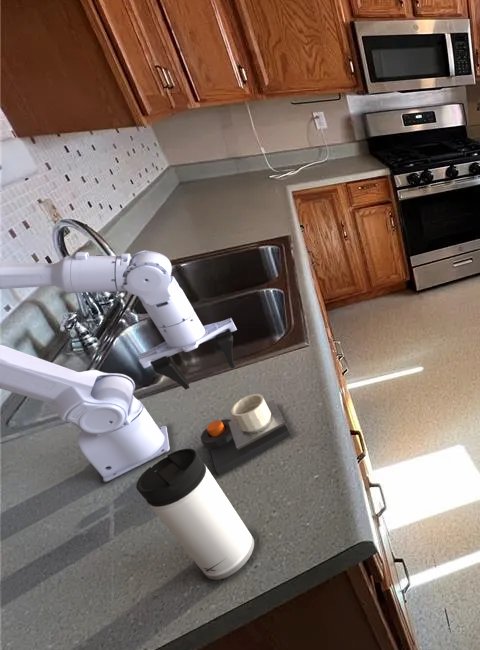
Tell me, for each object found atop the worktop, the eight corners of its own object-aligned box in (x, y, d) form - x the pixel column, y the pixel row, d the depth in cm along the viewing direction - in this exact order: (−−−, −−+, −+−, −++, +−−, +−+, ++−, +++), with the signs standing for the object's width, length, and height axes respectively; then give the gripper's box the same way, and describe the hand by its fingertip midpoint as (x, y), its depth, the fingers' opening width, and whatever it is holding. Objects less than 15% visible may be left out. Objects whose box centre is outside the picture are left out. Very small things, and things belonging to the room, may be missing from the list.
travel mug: (220, 591, 56) (146, 500, 46) (197, 565, 59) (123, 474, 49) (264, 548, 60) (205, 457, 51) (241, 526, 63) (181, 436, 54)
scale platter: (237, 450, 73) (236, 447, 72) (229, 424, 78) (228, 422, 78) (285, 424, 77) (284, 422, 77) (274, 401, 82) (273, 399, 82)
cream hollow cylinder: (244, 438, 74) (234, 420, 72) (238, 422, 78) (228, 404, 75) (275, 421, 77) (266, 404, 75) (268, 406, 80) (259, 389, 78)
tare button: (211, 439, 76) (207, 432, 75) (209, 431, 77) (205, 425, 76) (226, 431, 77) (222, 425, 76) (224, 424, 79) (220, 418, 78)
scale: (214, 478, 71) (207, 466, 70) (205, 441, 79) (198, 430, 77) (291, 435, 78) (285, 424, 77) (276, 405, 86) (271, 394, 84)
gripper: (124, 347, 66) (166, 407, 73) (225, 308, 74) (255, 366, 81) (123, 329, 71) (163, 387, 78) (219, 294, 79) (247, 350, 86)
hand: (210, 375), depth 80 cm, fingers open, 7 cm apart
